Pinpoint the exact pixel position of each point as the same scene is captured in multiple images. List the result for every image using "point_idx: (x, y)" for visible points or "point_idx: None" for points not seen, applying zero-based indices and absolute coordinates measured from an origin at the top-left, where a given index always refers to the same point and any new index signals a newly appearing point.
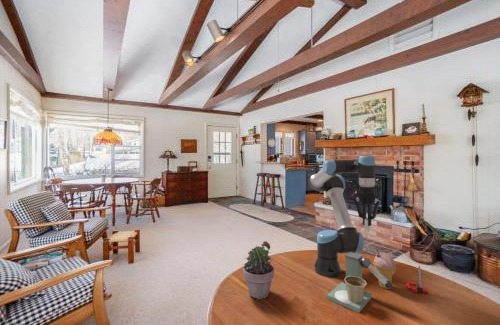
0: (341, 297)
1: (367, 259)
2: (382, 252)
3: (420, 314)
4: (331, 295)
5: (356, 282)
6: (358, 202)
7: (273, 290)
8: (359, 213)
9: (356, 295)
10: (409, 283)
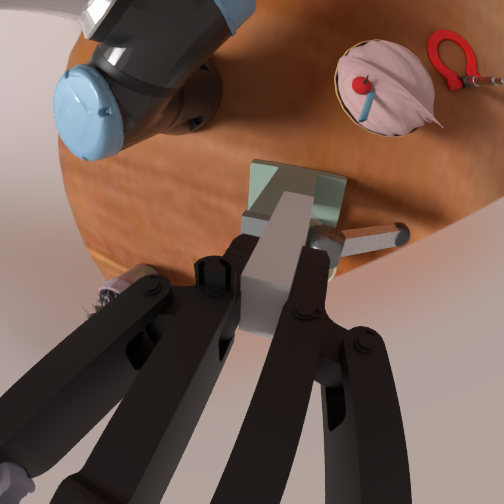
0: None
1: (331, 256)
2: (382, 73)
3: (453, 202)
4: None
5: None
6: (28, 463)
7: (155, 259)
8: (141, 360)
9: None
10: (437, 42)
